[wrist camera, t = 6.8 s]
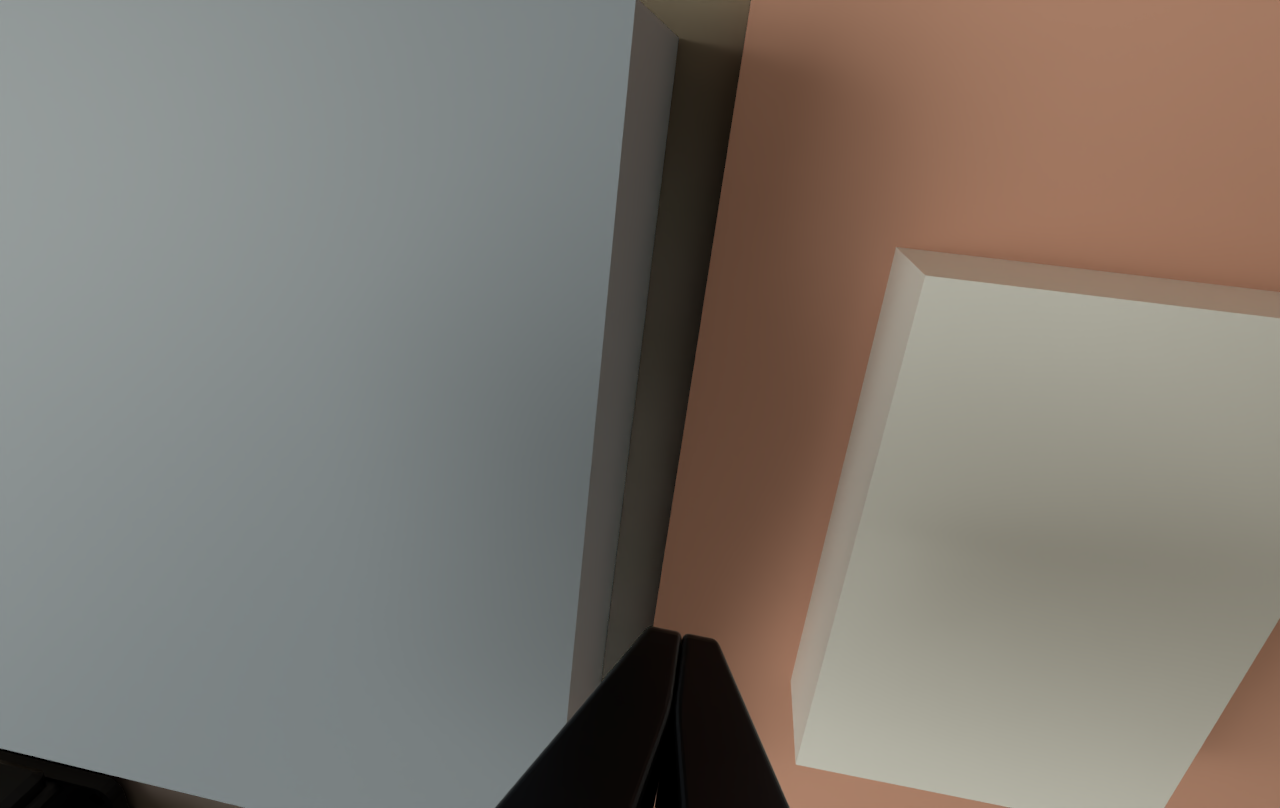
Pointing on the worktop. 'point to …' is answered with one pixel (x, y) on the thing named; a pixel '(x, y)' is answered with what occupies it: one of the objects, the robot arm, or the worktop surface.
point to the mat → (959, 224)
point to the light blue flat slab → (318, 384)
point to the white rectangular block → (1045, 534)
